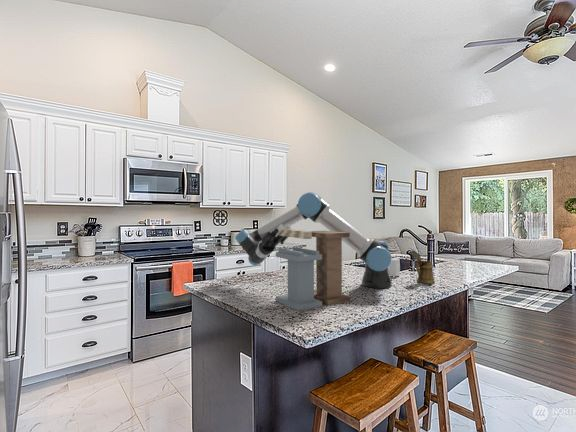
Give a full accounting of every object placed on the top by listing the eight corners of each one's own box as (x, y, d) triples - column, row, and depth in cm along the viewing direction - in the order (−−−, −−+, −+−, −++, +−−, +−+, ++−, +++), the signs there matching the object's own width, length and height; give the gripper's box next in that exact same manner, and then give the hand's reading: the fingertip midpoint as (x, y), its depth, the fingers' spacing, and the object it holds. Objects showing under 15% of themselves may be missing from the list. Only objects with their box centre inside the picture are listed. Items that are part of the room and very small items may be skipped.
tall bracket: (304, 296, 156) (303, 231, 155) (324, 292, 162) (324, 230, 161) (327, 305, 140) (327, 233, 140) (349, 301, 146) (349, 232, 146)
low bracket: (275, 300, 148) (275, 248, 148) (298, 296, 154) (298, 247, 154) (297, 310, 132) (297, 252, 132) (322, 306, 139) (321, 250, 138)
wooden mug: (406, 281, 186) (406, 249, 186) (426, 280, 190) (426, 248, 190) (417, 284, 177) (417, 251, 177) (438, 283, 182) (438, 250, 181)
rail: (274, 235, 157) (274, 228, 157) (280, 234, 159) (280, 228, 159) (305, 239, 135) (305, 231, 135) (311, 238, 136) (311, 231, 136)
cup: (402, 276, 200) (402, 259, 200) (384, 277, 197) (384, 260, 197) (394, 274, 208) (394, 257, 208) (377, 275, 205) (377, 258, 205)
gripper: (281, 253, 171) (303, 233, 154) (252, 256, 163) (271, 234, 145) (277, 240, 175) (298, 219, 157) (249, 242, 166) (267, 219, 149)
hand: (285, 226), depth 151 cm, fingers closed on rail, 3 cm apart
